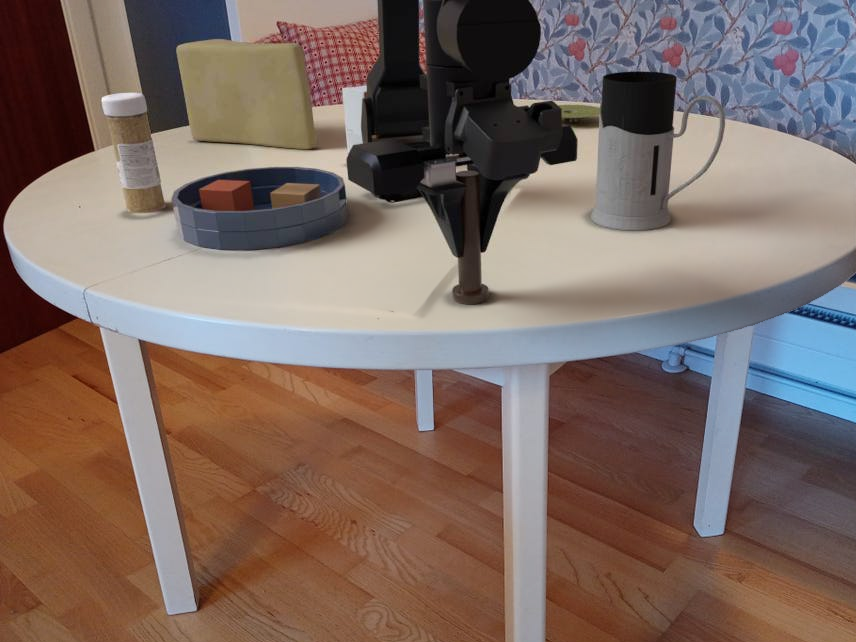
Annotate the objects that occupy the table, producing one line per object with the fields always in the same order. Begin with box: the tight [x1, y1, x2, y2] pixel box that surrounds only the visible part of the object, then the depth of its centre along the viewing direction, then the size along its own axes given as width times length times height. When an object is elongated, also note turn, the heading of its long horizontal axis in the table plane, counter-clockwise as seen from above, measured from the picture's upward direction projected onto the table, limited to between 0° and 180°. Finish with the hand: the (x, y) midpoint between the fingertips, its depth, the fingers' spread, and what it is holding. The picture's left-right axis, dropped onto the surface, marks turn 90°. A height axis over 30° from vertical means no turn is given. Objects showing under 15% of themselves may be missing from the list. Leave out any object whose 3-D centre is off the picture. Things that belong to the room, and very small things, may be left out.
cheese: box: [175, 38, 317, 150], centre depth 127 cm, size 22×10×15 cm, turn 59°
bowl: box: [170, 166, 349, 251], centre depth 90 cm, size 18×18×4 cm
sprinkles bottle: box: [101, 92, 167, 214], centre depth 95 cm, size 5×5×14 cm
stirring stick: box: [451, 170, 490, 305], centre depth 70 cm, size 3×3×11 cm
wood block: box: [270, 183, 321, 209], centre depth 89 cm, size 4×4×4 cm
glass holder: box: [590, 70, 726, 231], centre depth 86 cm, size 9×14×15 cm, turn 49°
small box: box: [341, 84, 377, 155], centre depth 114 cm, size 8×6×10 cm
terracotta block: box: [199, 180, 254, 211], centre depth 91 cm, size 4×4×4 cm
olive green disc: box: [557, 104, 600, 124], centre depth 138 cm, size 11×11×2 cm
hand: (469, 254), depth 70 cm, fingers closed on stirring stick, 2 cm apart
